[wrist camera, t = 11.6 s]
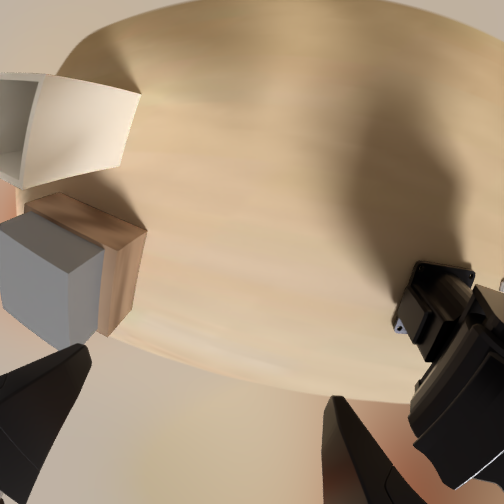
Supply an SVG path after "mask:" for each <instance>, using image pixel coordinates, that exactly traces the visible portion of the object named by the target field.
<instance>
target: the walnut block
mask: <svg viewBox="0 0 504 504" xmlns="http://www.w3.org/2000/svg"><path fill="white" fill-rule="evenodd" d="M30 211H32V212H34V213H36V214H38V215H39V216H41V217H43V218H45V219H47V220H49V221H51V222H52V223H54V224H56V225H58V226H60V227H62V228H64V229H66V230H68V231H70V232H72V233H73V234H75V235H77V236H79V237H81V238H83V239H85V240H87V241H89V242H91V243H93V244H95V245H97V246H99V247H101V248H103V249H105V252H104V259H103V267H102V276H101V286H100V297H99V311H98V329H97V330H96V331H97V332H99V333H101V334H103V335H104V336H106V337H108V336H109V335H110V334H111V333H112V332H113V330H114V329H115V328H116V327H117V326H118V325H119V323H120V322H121V321H122V320H123V319H124V318H125V317H126V315H127V314H128V313H129V312H130V311H131V310H132V305H133V299H134V293H135V287H136V282H137V277H138V272H139V267H140V262H141V257H142V252H143V248H144V243H145V239H146V235H147V231H146V230H144V229H142V228H139V227H137V226H135V225H132V224H130V223H128V222H125V221H123V220H121V219H118V218H116V217H114V216H112V215H109V214H107V213H105V212H102V211H100V210H98V209H96V208H93V207H91V206H89V205H87V204H84V203H82V202H80V201H78V200H75V199H73V198H71V197H69V196H66V195H64V194H62V193H60V192H58V193H55V194H52V195H49V196H46V197H43V198H40V199H37V200H34V201H31V202H28V203H25V206H24V213H27V212H30Z"/></svg>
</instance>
